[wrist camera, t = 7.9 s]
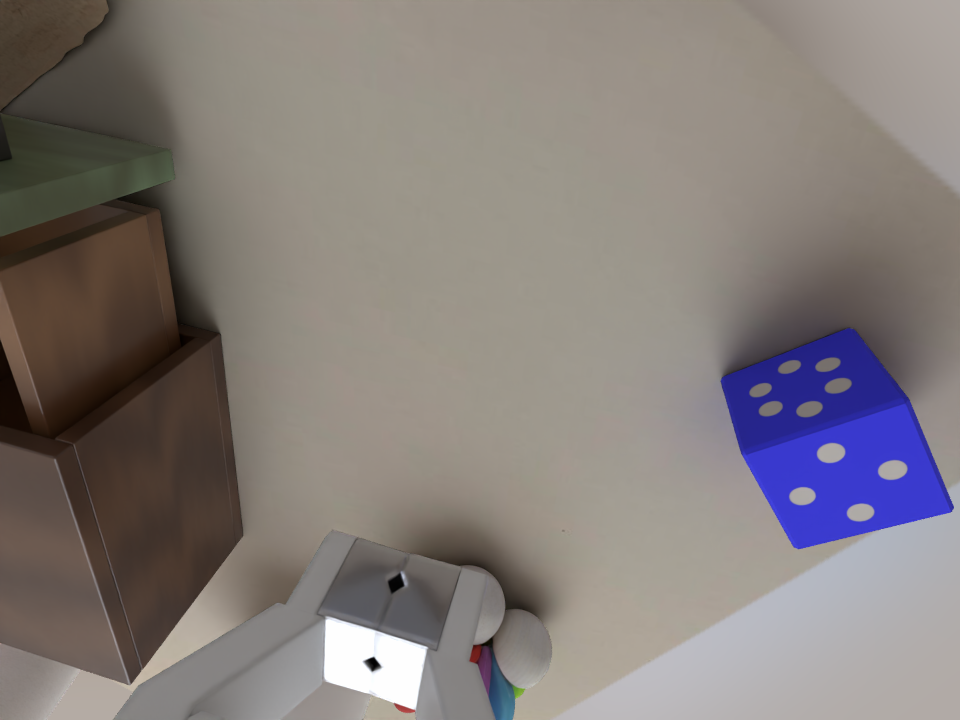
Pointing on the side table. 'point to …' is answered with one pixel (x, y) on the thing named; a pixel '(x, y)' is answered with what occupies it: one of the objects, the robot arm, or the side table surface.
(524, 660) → the rainbow petal toy
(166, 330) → the drawer
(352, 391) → the side table surface
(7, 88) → the clay tablet
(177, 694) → the robot arm
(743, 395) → the die
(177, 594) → the cabinet
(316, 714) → the mug
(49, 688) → the dixie cup
